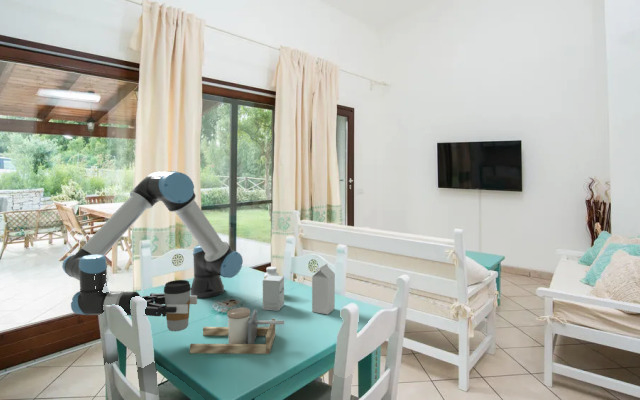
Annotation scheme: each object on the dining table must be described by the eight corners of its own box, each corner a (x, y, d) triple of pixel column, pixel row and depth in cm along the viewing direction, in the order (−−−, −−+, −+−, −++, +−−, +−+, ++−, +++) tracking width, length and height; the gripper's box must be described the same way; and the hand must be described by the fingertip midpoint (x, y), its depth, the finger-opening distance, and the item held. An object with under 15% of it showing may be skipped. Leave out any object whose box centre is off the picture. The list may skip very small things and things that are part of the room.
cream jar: (223, 346, 115) (222, 314, 114) (236, 336, 121) (235, 306, 121) (242, 350, 112) (242, 317, 111) (254, 340, 119) (254, 309, 118)
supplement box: (279, 311, 144) (279, 281, 143) (262, 309, 145) (262, 280, 144) (284, 304, 151) (284, 275, 150) (268, 303, 153) (268, 274, 152)
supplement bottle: (267, 298, 159) (266, 270, 158) (262, 293, 165) (262, 267, 164) (280, 295, 162) (280, 268, 161) (275, 291, 168) (275, 265, 167)
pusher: (247, 350, 111) (247, 322, 111) (254, 335, 122) (253, 310, 121) (282, 350, 111) (282, 323, 111) (285, 335, 122) (285, 310, 121)
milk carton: (334, 308, 146) (335, 264, 145) (327, 315, 140) (328, 268, 139) (319, 306, 149) (319, 262, 148) (312, 312, 143) (312, 266, 142)
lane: (189, 353, 110) (189, 336, 110) (204, 333, 124) (203, 318, 123) (269, 353, 110) (269, 336, 110) (275, 334, 123) (275, 318, 123)
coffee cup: (169, 322, 120) (168, 279, 119) (194, 322, 121) (193, 279, 120) (160, 333, 112) (159, 287, 111) (187, 332, 112) (186, 286, 111)
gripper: (139, 303, 126) (202, 304, 126) (104, 327, 106) (179, 328, 106) (139, 282, 126) (202, 283, 125) (103, 303, 105) (179, 304, 105)
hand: (192, 304), depth 116 cm, fingers closed on coffee cup, 7 cm apart
